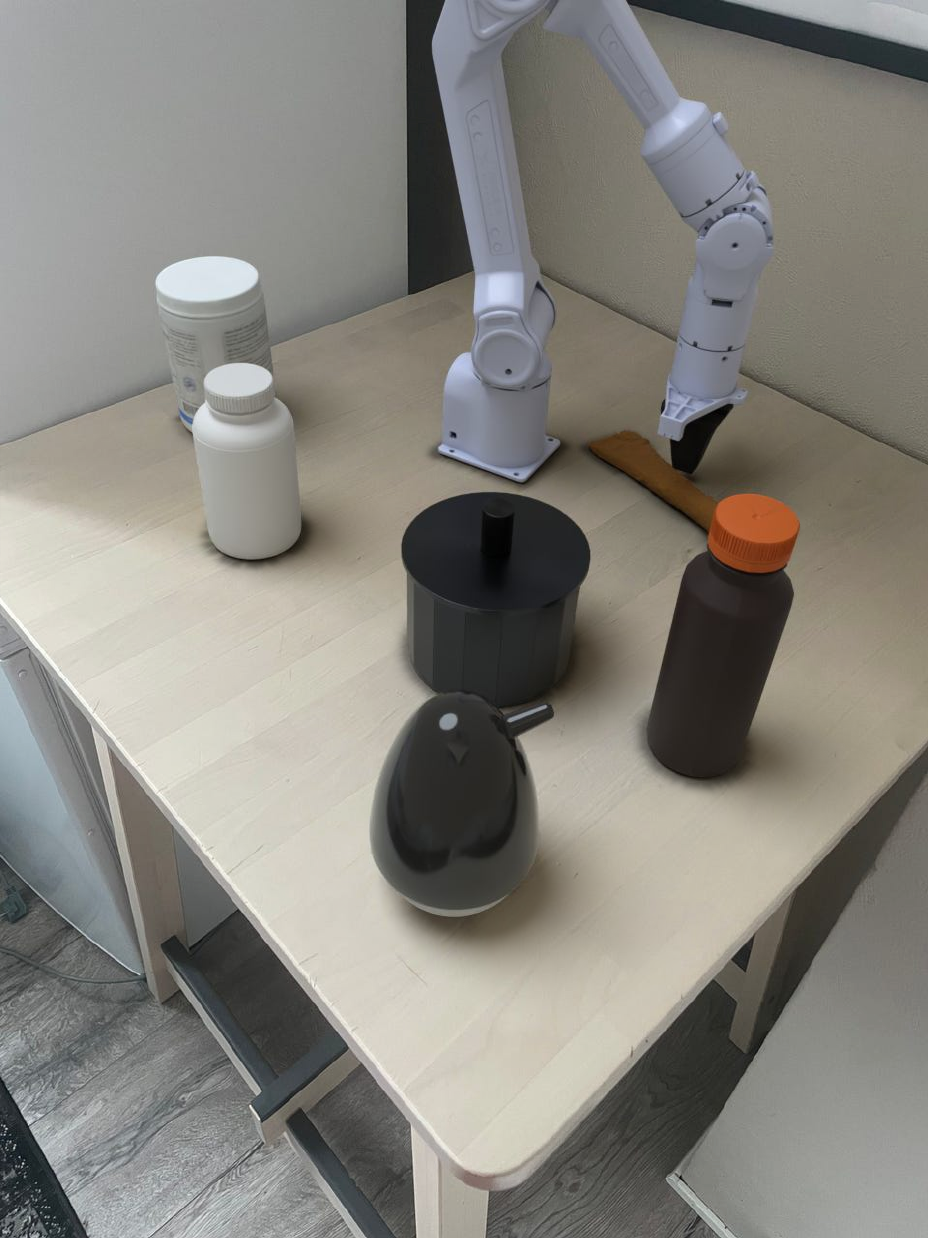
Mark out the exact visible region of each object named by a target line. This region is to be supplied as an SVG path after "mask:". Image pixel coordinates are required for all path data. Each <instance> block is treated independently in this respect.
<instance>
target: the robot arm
mask: <svg viewBox="0 0 928 1238" xmlns="http://www.w3.org/2000/svg"><path fill="white" fill-rule="evenodd" d="M544 9H546V10H547V11H549V13H548V16H547V18H546V19H545V20H544V22H543V24H542V26H541V28H542V29H543V30H545V31H548V32H550V33H555V34H560V35H564V36H567V37H571V38H575V39H579V40H580V41H582V42H583V44H584V45H585V46H586V48H587V49H588V50H589V52H590V53H591V54H592V56H593V58H594V59H595V60H596V62H597V63H598V64H599V66H600V68H601V69H602V70H603V71H604V73H605V74H606V76H607V77H608V79H609V80H610V82H611V83H612V85H613V86H614V88H616V90H617V92H618V93H619V94H620V96H621V97H622V99H623V100H624V101H625V103H626V104H627V106H628V107H629V109H630V110H631V112H632V113H633V114H634V116H635V117H636V118H637V120H638V122H639V123H640V124H641V126H642V127H643V129H644V131H643V135H642V140H641V145H640V149H639V150H640V156H641V158H642V160H643V161H644V162H645V164H646V166H647V168H648V169H649V170H650V172H651V173H652V175H653V176H654V178H655V179H656V181H657V183H658V184H659V185H660V187H661V189H662V190H663V192H664V194H665V195H666V197H667V198H668V200H669V201H670V203H671V204H672V206H673V208H674V209H675V211H676V212H677V214H678V215H679V217H680V218H681V220H682V221H683V222H684V223H685V224H686V225H687V226H688V227H690V228H692V229H693V230H694V231H695V232H696V233H697V239H696V240H695V242H694V252H695V262H694V267H693V273H692V274H691V276H690V277H689V280H688V282H687V286H686V287H687V288H686V293H685V297H684V298H685V299H684V304H683V308H682V314H681V318H680V323H679V324H680V325H679V329H678V333H677V334H678V335H677V340H676V345H675V350H674V356H673V360H672V365H671V371H670V373H669V374H668V376H667V380H666V385H665V387H666V388H665V398H664V399H663V400H662V402H661V404H660V405H661V406H660V418H659V423H658V429H657V435H658V436H660V437H664V438H667V439H669V446H670V448H669V449H670V462H671V466H672V467H673V468H675V469H676V470H677V471H678V472H681V473H685V474H688V475H693V474H694V473H695V471H696V470H697V469H698V467H699V466H700V463H701V462H702V460H703V457H704V456H705V454H706V452H707V449H708V447H709V445H710V442H711V441H712V438H713V437H714V434H715V432H716V431H717V429H718V428H719V426H721V424H723V422H724V420H726V418H727V417H728V415H729V414H730V413H731V411H732V410H733V408H734V406H741V405H743V404H744V403H745V401H746V400H747V399H748V394H749V390H748V389H747V388H744V387H741V386H739V385H738V377H739V372H740V369H741V364H742V361H743V355H744V352H745V348H746V344H747V340H748V335H749V332H750V327H751V323H752V319H753V315H754V310H755V306H756V303H757V299H758V294H759V287H758V283H759V281H760V280H761V277H762V274H763V269H765V268H766V266H767V265H768V264H769V262H770V261H771V259H772V257H773V255H774V252H775V248H774V247H773V244H774V222H773V210H772V204H771V202H770V200H769V197H768V194H767V188H766V187H765V186H764V185H763V184H761V183H760V179H759V178H758V176H757V174H756V172H755V171H754V170H751V171H748V172H747V170H746V169H745V167H744V165H743V164H742V162H741V160H740V159H739V157H738V155H737V154H736V152H735V150H734V149H733V147H732V146H731V144H730V143H729V142H730V141H728V139H727V137H726V134H727V133H728V132H729V123H728V121H727V119H726V118H725V116H724V114H723V113H722V112H721V111H718V112H717V113H715V114H714V115H713V114H712V112H711V110H710V109H709V107H708V105H707V104H706V103H704V102H701V101H697V100H691V99H687V98H683V97H681V96H680V95H679V93H678V91H677V90H676V88H675V85H674V84H673V82H672V81H671V79H670V77H669V75H668V73H667V72H666V70H665V68H664V66H663V64H662V62H661V61H660V59H659V56H658V55H657V53H656V52H655V50H654V48H653V47H652V44H651V42H650V41H649V39H648V38H647V36H646V33H645V31H644V30H643V28H642V26H641V25H640V22H639V21H638V20H637V17H636V15H635V14H634V12H633V10H632V9H631V7H630V5H629V3H628V1H627V0H444V4H443V6H442V10H441V12H440V15H439V18H438V21H437V23H436V28H435V30H434V34H433V35H432V41H431V53H432V60H433V64H434V69H435V75H436V80H437V85H438V86H437V87H438V91H439V97H440V101H441V107H442V111H443V117H444V122H445V126H446V132H447V136H448V137H447V138H448V142H449V147H450V153H451V158H452V162H453V168H454V173H455V178H456V183H457V188H458V194H459V199H460V204H461V209H462V213H463V220H464V224H465V229H466V234H467V240H468V246H469V251H470V256H471V260H472V266H473V271H474V293H473V311H472V312H473V319H474V325H475V332H474V337H473V340H472V343H471V346H470V351H466V352H465V351H464V352H463V353H461V354H460V355H458V356H457V357H456V359H455V360H454V361H453V362H452V364H451V366H450V368H449V370H448V372H447V375H446V378H445V382H444V386H443V392H442V393H443V396H442V435H441V436H442V438H441V444H440V445H439V446H438V447H437V452H438V453H439V454H441V455H443V456H446V457H449V458H451V459H454V460H457V461H460V462H463V463H466V464H468V465H471V466H474V467H477V468H479V469H482V470H485V471H488V472H490V473H493V474H496V475H498V476H502V477H504V478H506V479H510V480H512V481H515V482H518V483H524V482H526V481H528V479H529V478H530V477H531V476H532V475H533V474H534V473H535V472H536V471H537V470H538V469H539V468H540V467H541V466H542V465H543V464H544V463H545V461H546V460H547V459H548V458H550V456H552V454H554V452H555V451H557V449H558V448H559V447H560V446H561V440H559V439H558V438H554V437H552V436H549V435H546V431H547V423H548V422H547V421H548V411H549V403H550V393H551V384H552V383H551V382H552V373H553V364H552V361H551V360H550V357H549V356H548V354H547V351H546V348H547V345H548V341H549V338H550V334H551V332H552V330H553V328H554V326H555V324H556V320H557V310H558V309H557V305H556V302H555V300H554V297H553V296H552V294H551V292H550V291H549V290H548V288H547V287H546V286H545V284H544V281H543V279H542V274H541V268H540V264H539V263H538V261H537V260H536V258H535V257H534V256H533V254H532V248H531V241H530V235H529V229H528V222H527V216H526V210H525V203H524V197H523V191H522V183H521V178H520V170H519V163H518V157H517V151H516V146H515V145H516V144H515V138H514V132H513V127H512V119H511V112H510V107H509V106H510V105H509V101H508V100H509V99H508V94H507V88H506V87H507V86H506V81H505V75H504V69H503V61H502V54H503V51H504V49H505V48H506V46H507V45H508V43H509V42H510V41H511V39H512V37H513V36H514V34H515V33H516V31H517V30H518V29H519V28H521V27H523V25H525V24H527V23H528V22H529V21H531V20H532V19H533V18H534V17H535V16H537V15H538V14H539V13H540V12H542V11H543V10H544Z"/></svg>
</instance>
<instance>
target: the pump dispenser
mask: <svg viewBox="0 0 928 1238" xmlns="http://www.w3.org/2000/svg"><path fill="white" fill-rule="evenodd" d="M554 717H555V710H554V708H553V704H552V703H551V702H550V701H549V700H543V701H539V702H538V703H534V704H532V705H528V706H525V707H523V708H519V709H516V710H513V711H509V712H507V713H504V712H503V711H501V709H500V708H499V707H496V706H495V705H494V704H493V703H492V702H490V701H489V700H488V699H487V698H485V697H484V696H482V695H480V694H478V693H475V692H472V691H468V690H449V691H444V692H441V693H436V694H434V695H432V696H431V697H429V698H427V699H426V700H424V701H423V702H422V703H421V704H419V706H417V707H416V709H415V710H413V712H411V714H410V715H409V716H408V718H407V719H406V720H405V722H404V723H403V724H402V726H401V727H400V729H399V731H398V733H397V734H396V736H395V737H394V739H393V741H392V743H391V745H390V747H389V749H388V751H387V754H386V756H385V758H384V760H383V763H382V765H381V767H380V771H379V773H378V777H377V779H376V784H375V788H374V792H373V798H372V802H371V808H370V809H371V810H370V816H369V828H368V830H369V845H370V851H371V855H372V858H373V861H374V863H375V866H376V867H377V869H378V871H379V873H380V874H381V876H382V877H383V879H385V881H386V882H387V883H388V884H389V885H390V886H391V887H392V888H393V889H394V890H395V892H397V893H398V895H399V896H401V897H402V898H403V899H404V900H405V901H406V902H407V903H409V904H411V905H412V906H414V907H416V908H417V909H420V910H422V911H424V912H426V913H429V914H433V915H437V916H441V917H454V918H457V917H467V916H471V915H476V914H479V913H482V912H484V911H486V910H489V909H491V908H493V907H494V906H496V905H497V904H499V903H500V902H502V901H503V900H504V899H505V898H506V897H508V896H510V894H511V893H512V892H513V891H515V889H517V888H518V887H519V886H520V885H521V883H522V882H523V881H524V880H525V879H526V877H527V876H528V875H529V873H530V871H531V870H532V867H533V865H534V863H535V861H536V857H537V853H538V848H539V841H540V811H539V801H538V794H537V788H536V781H535V778H534V773H533V771H532V770H533V769H532V767H531V764H530V761H529V758H528V755H527V753H526V751H525V748H524V746H523V744H522V742H521V740H520V738H519V737H520V736H522V735H524V734H526V733H528V732H530V731H532V730H533V729H536V728H538V727H540V726H541V725H544V724H546V723H547V722H550V721H551V720H553V719H554Z"/></svg>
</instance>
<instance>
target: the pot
mask: <svg viewBox="0 0 928 1238" xmlns="http://www.w3.org/2000/svg"><path fill="white" fill-rule="evenodd" d="M580 589H581V586H580V587H579V588H578V589H577V590H576V591H575V592H574V593H573V594H572V595H571V596H569V597H568V598H567V599H565V600H564V601H562V602H560V603H559V604H557V605H554V606H552V607H550V608H547V609H545V610H541V611H538V612H535V613H530V614H525V615H517V616H486V615H479V614H473V613H468V612H464V611H460V610H457V609H454V608H452V607H449V606H446V605H444V604H442V603H440V602H438V601H436V600H435V599H433V598H431V597H430V596H428V595H427V594H425V593H424V592H423V591H422V590H421V589H419V588H418V587H417V586H416V585H415V583H414V582H413V581H412V580H411V579H410V577H409V576H408V574H407V573H406V645H407V649H408V655H409V660H410V662H411V665H412V667H413V669H414V671H415V672H416V674H417V676H419V679H421V680H422V681H423V682H424V683H425V684H426V685H427V686H428V687H429V688H430V689H431V690H433V691H435V692H436V693H437V694H439V693H441V692H444V691H449V690H468V691H472V692H475V693H478V694H480V695H482V696H484V697H485V698H487V699H488V700H489V701H490V702H492V703H493V704H494V705H495V706H496V707H497V708H506V707H507V708H508V707H514V706H518V705H522V704H525V703H529V702H531V701H533V700H535V699H537V698H539V697H541V696H543V695H545V694H546V693H548V692H549V691H550V690H551V689H553V688H554V687H555V686H556V685H557V684H558V683H559V681H560V680H561V679H562V677H563V676H564V674H565V673H566V670H567V667H568V666H569V663H570V657H571V650H572V643H573V636H574V630H575V622H576V616H577V611H578V602H579V595H580Z"/></svg>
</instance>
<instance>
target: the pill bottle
mask: <svg viewBox="0 0 928 1238" xmlns="http://www.w3.org/2000/svg"><path fill="white" fill-rule="evenodd" d="M274 381H275V378H274V379H273V376H272V375H271V373H270V372H269V371H268V370H266V369H265V368H263V367H261V366H258V365H254V364H249V363H232V364H226V365H223V366H220V367H217V368H215V369H213V370H212V371H210V372H209V373H208V374H207V375H206V377H205V379H204V391H205V398H206V399H205V403H204V404H203V405H202V406H201V407H200V408H199V409H198V410H197V412H196V414H195V416H194V419H193V424H192V432H193V433H192V432H191V433H192V438H193V444H194V451H195V457H196V462H197V470H198V476H199V482H200V489H201V495H202V502H203V508H204V514H205V520H206V521H205V522H206V526H207V531H208V535H209V539H210V541H211V543H212V544H213V545H214V547H215V548H216V549H217V550H218V551H219V552H221V553H223V554H225V555H227V556H228V557H232V558H234V559H235V558H236V559H241V560H262V559H263V560H264V559H267V558H272V557H275V556H277V555H280V554H282V553H284V552H286V551H287V550H289V549H290V548H292V546H293V545H295V544H296V543H297V541H298V539H299V538H300V535H301V531H302V511H301V499H300V487H299V486H300V485H299V474H298V462H297V461H298V460H297V450H296V449H297V448H296V438H295V428H294V427H295V426H294V420H293V416H292V414H291V412H290V410H289V408H288V407H287V406H286V404H285V403H283V402H282V401H281V400H280V399H278V398H277V397H276V398H275V397H274V396H275V389H276V388H275V389H274Z"/></svg>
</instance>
